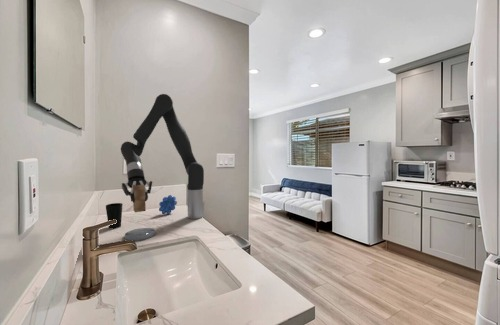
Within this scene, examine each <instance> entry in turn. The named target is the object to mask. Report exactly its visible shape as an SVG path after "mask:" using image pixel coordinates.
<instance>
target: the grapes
mask: <svg viewBox="0 0 500 325" xmlns="http://www.w3.org/2000/svg"><path fill="white" fill-rule="evenodd" d="M177 204H178V201H177V198H176V196H173V195H171V194H170V195H168V196H164V197H163V198H162V201H160V202H159V208H158V211H159V212H161V214H162V215H166V214H167V215H169V214H171V213H172V211H174V210H175V209H176V205H177Z"/></svg>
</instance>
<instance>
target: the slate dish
mask: <svg viewBox="0 0 500 325" xmlns="http://www.w3.org/2000/svg"><path fill="white" fill-rule="evenodd" d="M155 235H156V230H155V228H152V227H140V228H134V229H132V230H129V231H126V232H125V234H124V239H125V241H128V240H134V241H133V242H139V241H145V240H149V239H150V238H153V237H154V236H155Z"/></svg>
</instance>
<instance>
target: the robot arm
mask: <svg viewBox="0 0 500 325" xmlns="http://www.w3.org/2000/svg"><path fill="white" fill-rule="evenodd" d="M154 100H155V101H154V103H153V105H152V107H151V110H150V111H149V112H148V114H147V116H146V117H145V118H144V120H142V122H141V124H140V125H139V126H138V128H137V129H136V131H135V132H134V134H133V136H132V138H133V139H134V140H135V141H136V144H135V143H134V142H131V141H125V142H123V143H122V144H121V146H120V152H121V155H122V157H123V159H124V160H125V163H126V164H125V165H126V175H127V183H124V182H122V183H121V189H122V190H123V193H124V194H125V196H129V197H130V201H131V202H132V204H133V203H134V202H135V198H134V194H133V193H134V191H133V185H145V186H146V185H147V187H148V189H147V187H145V202H147V201H148V199H149V195H148V194H151V191H152V187H153V181H152V180H150V181H147V179H146V178H145V173H144V168H143V165H142V160H141V156H142V153H143V151H144V148H145V146H146V143H147V141H148V139H149V138H150V137H151V135H152V133H153V131H154V130H155V128H156V127H157V125H158V123H159V122H160V120H161V119H162V118H163V121H164V123H165V125H166V128H167V132H168V134H169V137H170V139H171V141H172V144H173V146H174V147H175V150H176V151H177V153H178V155H179V156H180V158H181V160H182V162H183V166H184V169H185V172H186V174H187V185H186V186H187V187H186V189H187V190H186V194H187V195H186V196H187V201H186V202H187V218H188V219H190V220H193V219H194V220H197V219H201V218H203V217H204V218H205V201H204V181H205V179H204V178H205V172H204V171H205V170H204V167H203V165H202V164H200V163H199V162H198V161H197V159H196V158H195V155H194V153H193V151H192V150H193V149H192V145H191V141H190V138H189V135H188V133H187V132H186V131H187V130H185V128H184V126H183V125H182V123H181V122H180V120H179V119H178V116H177V114H176V111H175V107H174V101H173V99H172V97H171V96H170V95H168V94H167V93H161V94H159V95H157V96H156V98H155V99H154ZM128 187H129V188H130V189H131V190H129V189H128Z"/></svg>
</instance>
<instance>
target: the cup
mask: <svg viewBox="0 0 500 325" xmlns="http://www.w3.org/2000/svg"><path fill="white" fill-rule="evenodd" d="M105 210H106V217H107V222H108V221H109V220H113V219H116V220H117V223H116V224H113V225H110V226H108V229H109V228H113V229H112V230H115V229H119V228H121V226H122V217H123V216H122V215H123V203H122V202H121V203H120V202H114V203H113V202H112V203H108V204H106V205H105Z"/></svg>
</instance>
